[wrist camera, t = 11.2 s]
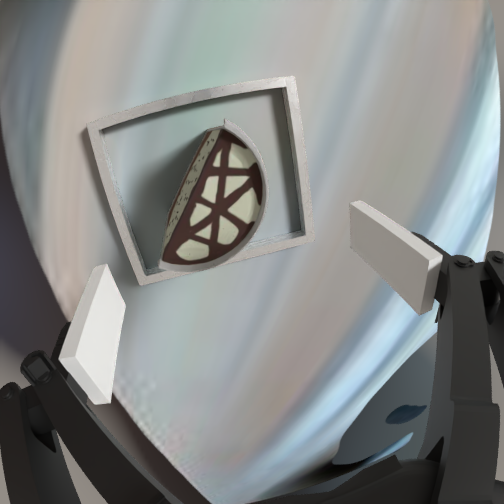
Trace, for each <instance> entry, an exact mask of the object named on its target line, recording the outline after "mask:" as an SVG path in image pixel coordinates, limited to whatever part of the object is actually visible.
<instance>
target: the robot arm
mask: <svg viewBox="0 0 504 504" xmlns="http://www.w3.org/2000/svg"><path fill="white" fill-rule="evenodd" d="M349 207H350V242H351V248H352V249H353V250H354V251H355V252H356V253H357V254H358V255H359V256H360V257H361V258H362V259H363V260H364V261H365V262H366V263H367V264H368V265H370V266H371V267H372V268H373V269H374V270H375V271H376V272H377V273H378V274H379V275H380V276H381V277H382V278H383V279H384V280H385V281H386V282H387V283H388V284H389V285H390V286H391V287H392V288H393V289H394V290H395V291H396V292H397V293H398V294H399V295H400V296H401V297H402V298H403V299H404V300H405V301H406V302H407V303H408V304H409V305H410V306H411V307H412V309H413V310H414V311H415V312H416V313H417V314H418V315H421V314H424V313H426V312H428V311H430V310H432V307H433V303H434V299H436V300H437V301H438V302H439V303H440V304H439V308H438V312H437V316H436V320H435V323H437V322H438V332H437V333H438V334H437V350H436V362H435V373H434V382H433V390H432V399H431V405H430V411H429V418H428V423H427V428H426V433H425V439H424V442H423V445H422V448H421V450H420V452H419V455H418V458H417V459H406V460H399V461H398V459H397V457H396V456H395V455H393V456H391V457H389V458H387V459H385V460H383V461H381V462H379V463H377V464H374V465H372V466H370V467H368V468H365V469H363V470H362V471H360V472H359V473H358V474H356V475H355V476H353V477H352V478H350V479H349V480H348V481H346V482H345V483H343V484H342V485H340V486H339V487H337V488H336V489H334V490H332V491H329V492H324V493H315V494H304V495H291V496H286V497H283V498H279V499H275V500H271V501H267V502H263V503H259V504H504V482H503V481H499V480H495V475H496V467H497V458H498V447H499V428H500V409H499V406H498V404H494V403H492V393H491V392H492V390H491V389H492V388H491V363H490V350H489V344H490V346H491V349H492V352H493V355H494V358H495V361H496V364H497V367H498V370H499V373H500V377H501V380H502V383H503V387H504V254H503V252H500V251H489V252H488V253H487V255H486V259H485V262H479V263H475V262H474V261H473V260H472V259H471V258H469V257H467V256H463V255H454V256H451V255H449V254H448V253H447V252H445V251H444V250H442V249H441V248H440V247H438V246H437V245H434V243H433V242H431V241H429V240H428V239H427V238H425V237H424V236H422V235H420V234H417V233H415V232H409V231H408V230H406V229H405V228H403V227H402V226H400V225H399V224H397V223H396V222H394V221H393V220H391V219H390V218H388V217H387V216H385V215H384V214H382V213H380V212H379V211H377V210H376V209H374V208H373V207H371V206H369V205H368V204H366V203H365V202H363V201H361V200H360V201H356V202H351V203H349ZM125 308H126V305H125V303H124V301H123V299H122V296H121V294H120V292H119V290H118V288H117V286H116V283H115V281H114V279H113V277H112V274H111V272H110V270H109V267H108V265H107V264H104V265H100V266H97V267H94V269H93V271H92V273H91V276H90V278H89V280H88V283H87V285H86V287H85V290H84V292H83V294H82V297H81V299H80V302H79V304H78V307H77V309H76V312H75V314H74V317H73V319H72V322H68V323H66V325H65V326H64V327H63V329H62V330H61V332H60V334H59V337H58V340H57V342H56V347H55V348H54V350H53V353H52V356H51V359H49V357H48V356H47V354H46V353H45V352H44V351H40V350H38V351H34V352H32V353H30V354H29V355H28V356H27V357H26V358H25V359H24V360H23V362H22V364H21V367H20V369H21V373H22V374H23V375H24V377H25V378H26V379H27V380H28V381H29V382H30V384H31V385H30V386H28V387H26V388H24V389H21V388H20V387H19V386H18V385H17V384H16V383H15V382H10V383H7V384H6V385H5V386H3V387H2V388H1V389H0V449H1V457H2V463H3V470H4V475H5V481H6V486H7V491H8V495H9V500H10V504H81V502H80V499H79V497H78V494H77V492H76V489H75V487H74V484H73V482H72V479H71V476H70V474H69V471H68V468H67V465H66V462H65V459H64V456H63V452H62V449H61V446H60V443H59V439H58V436H57V432H58V434H59V436H60V437H61V439H62V441H63V442H64V444H65V445H66V447H67V449H68V450H69V452H70V453H71V455H72V456H73V458H74V459H75V461H76V462H77V463H78V465H79V466H80V468H81V469H82V471H83V472H84V473H85V475H86V476H87V477H88V479H89V480H90V481H91V482H92V484H93V485H94V487H95V488H96V489H97V491H98V492H99V493H100V494H101V495H102V497H103V498H104V499H105V500H106V502H107V503H108V504H183V503H182V502H181V501H179V500H178V499H177V498H176V497H175V496H174V495H172V494H171V493H170V492H169V491H168V490H167V489H166V488H164V487H163V486H162V485H161V484H160V483H159V482H158V481H157V480H155V478H153V477H152V476H151V475H150V474H149V473H148V472H147V471H146V470H145V469H144V468H143V467H142V466H141V465H140V464H139V463H138V462H137V461H136V460H135V459H134V458H133V457H132V456H131V455H130V454H129V453H128V452H127V451H126V450H125V448H124V447H123V446H122V445H121V444H120V443H119V442H118V441H117V440H116V439H115V437H114V436H113V435H112V434H111V433H110V432H109V431H108V430H107V428H106V427H105V426H104V425H103V424H102V422H101V421H100V420H99V419H98V418H97V416H96V415H95V414H94V413H93V412H92V410H91V409H90V408H89V407H88V405H87V404H86V402H87V397H89V398H90V400H91V401H92V402H93V403H94V404H95V405H96V404H105V403H110V402H111V394H112V386H113V379H114V371H115V365H116V358H117V352H118V346H119V340H120V334H121V329H122V323H123V318H124V313H125ZM56 431H57V432H56Z"/></svg>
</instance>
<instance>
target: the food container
mask: <svg viewBox="0 0 504 504" xmlns="http://www.w3.org/2000/svg"><path fill="white" fill-rule="evenodd" d="M268 197H269V184H268V177H267V173H266V168H265V164H264V162H263V159H262V157H261V154H260V152H259V151H258V149H257V147H256V146H255V144H254V142H253V141H252V140H251V139H250V138H249V137H248V135H247V134H246V133H245V132H244V131H243V130H241V129H240V128H239V127H238V126H237V125H235V124H234V123H232V122H230V121H229V120H227V119H224V125H223V126H219V127H215V128H210V129H207V131H206V133H205V135H204V136H203V138H202V140H201V142H200V144H199V146H198V148H197V150H196V153H195V155H194V157H193V159H192V161H191V163H190V165H189V167H188V169H187V171H186V173H185V176H184V178H183V180H182V182H181V184H180V186H179V189H178V191H177V193H176V195H175V197H174V200H173V202H172V204H171V206H170V209H169V211H168V214H167V220H166V225H165V231H164V237H163V242H162V248H161V255H160V260H159V259H158V267H159V268H160V269H164V270H168V271H174V272H196V271H203V270H207V269H210V268H213V267H216V266H218V265H220V264H223V263H225V262H227V261H228V260H230V259H231V258H233V257H234V256H236V255H237V254H238V253H239V252H240V251H242V250H243V249H244V248H245V247H246V246H247V244H248V243H249V242H250V241H251V240H252V238H253V237H254V235H255V234H256V232H257V231H258V229H259V228H260V225H261V223H262V221H263V219H264V216H265V213H266V209H267V205H268Z"/></svg>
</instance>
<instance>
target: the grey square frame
mask: <svg viewBox="0 0 504 504" xmlns="http://www.w3.org/2000/svg"><path fill="white" fill-rule="evenodd" d="M280 87H282V93H283V99H284V105H285V111H286V118H287V124H288V131H289V137H290V144H291V151H292V158H293V166H294V173H295V181H296V189H297V197H298V206H299V214H300V223H301V230H300V231H295V232H291V233H287V234H283V235H279V236H275V237H272V238H268V239H264V240H260V241H256V242H252V243H248V244H247V246H246V247H245V248H244V249H243V250H242V251H240V252H239V253H238V254H237V255H236V256H234V257H233V258H231V259H230V260H228V261H227V262H225V263H223V264H220V265H218V266H221V265H225V264H229V263H233V262H237V261H240V260H244V259H248V258H252V257H256V256H260V255H264V254H267V253H271V252H275V251H279V250H283V249H287V248H291V247H294V246H298V245H302V244H306V243H310V242H314V241H315V235H314V224H313V213H312V203H311V193H310V184H309V175H308V166H307V158H306V150H305V142H304V135H303V127H302V120H301V114H300V107H299V100H298V94H297V88H296V82H295V76H288V77H278V78H270V79H262V80H255V81H248V82H242V83H235V84H230V85H224V86H219V87H213V88H208V89H204V90H199V91H194V92H190V93H186V94H181V95H177V96H173V97H169V98H165V99H162V100H158V101H154V102H151V103H147V104H144V105H140V106H137V107H134V108H131V109H127V110H124V111H121V112H118V113H115V114H112V115H109V116H106V117H104V118H101V119H98V120H95V121H93V122H90V123H87V128H88V132H89V136H90V140H91V144H92V148H93V152H94V155H95V159H96V162H97V166H98V169H99V173H100V176H101V179H102V183H103V186H104V189H105V192H106V195H107V198H108V202H109V205H110V208H111V211H112V214H113V216H114V219H115V222H116V225H117V228H118V231H119V233H120V236H121V239H122V242H123V244H124V247H125V250H126V252H127V255H128V257H129V260H130V263H131V265H132V268H133V270H134V273H135V275H136V277H137V280H138V282H139V285H140V286H143V285H147V284H150V283H154V282H158V281H162V280H166V279H170V278H174V277H178V276H182V275H186V274H190V273H194V272H174V271H168V270H164V269H160V268H159V267H154V268H150V269H146V267H145V264H144V261H143V259H142V256H141V253H140V251H139V248H138V245H137V242H136V240H135V237H134V234H133V231H132V228H131V225H130V222H129V219H128V216H127V213H126V210H125V207H124V204H123V201H122V198H121V195H120V191H119V188H118V185H117V181H116V178H115V175H114V171H113V168H112V164H111V161H110V157H109V153H108V150H107V146H106V142H105V138H104V134H103V130H102V129H104V128H106V127H109V126H112V125H115V124H118V123H121V122H124V121H128V120H131V119H134V118H137V117H141V116H144V115H147V114H151V113H154V112H158V111H162V110H165V109H169V108H173V107H177V106H181V105H185V104H190V103H194V102H198V101H203V100H208V99H212V98H217V97H223V96H228V95H233V94H239V93H245V92H251V91H258V90H265V89H272V88H280ZM216 267H217V266H216ZM196 272H198V271H196Z"/></svg>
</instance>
